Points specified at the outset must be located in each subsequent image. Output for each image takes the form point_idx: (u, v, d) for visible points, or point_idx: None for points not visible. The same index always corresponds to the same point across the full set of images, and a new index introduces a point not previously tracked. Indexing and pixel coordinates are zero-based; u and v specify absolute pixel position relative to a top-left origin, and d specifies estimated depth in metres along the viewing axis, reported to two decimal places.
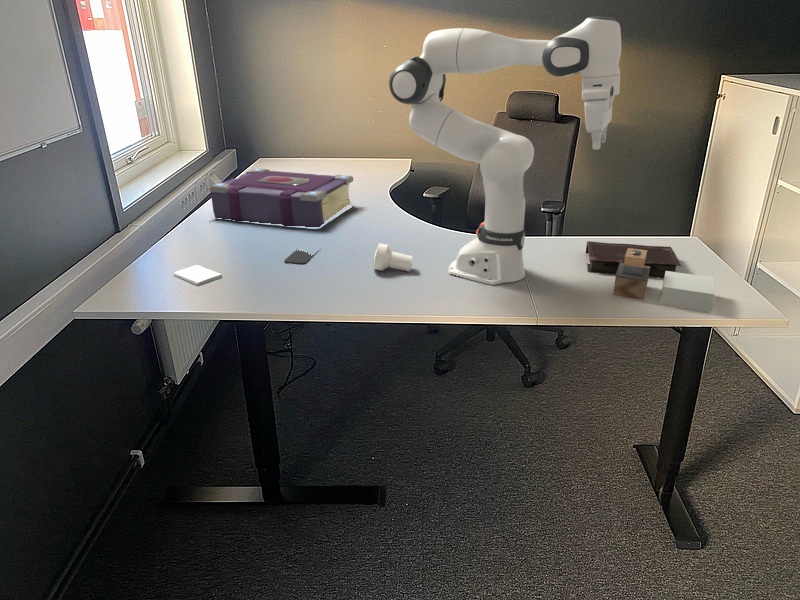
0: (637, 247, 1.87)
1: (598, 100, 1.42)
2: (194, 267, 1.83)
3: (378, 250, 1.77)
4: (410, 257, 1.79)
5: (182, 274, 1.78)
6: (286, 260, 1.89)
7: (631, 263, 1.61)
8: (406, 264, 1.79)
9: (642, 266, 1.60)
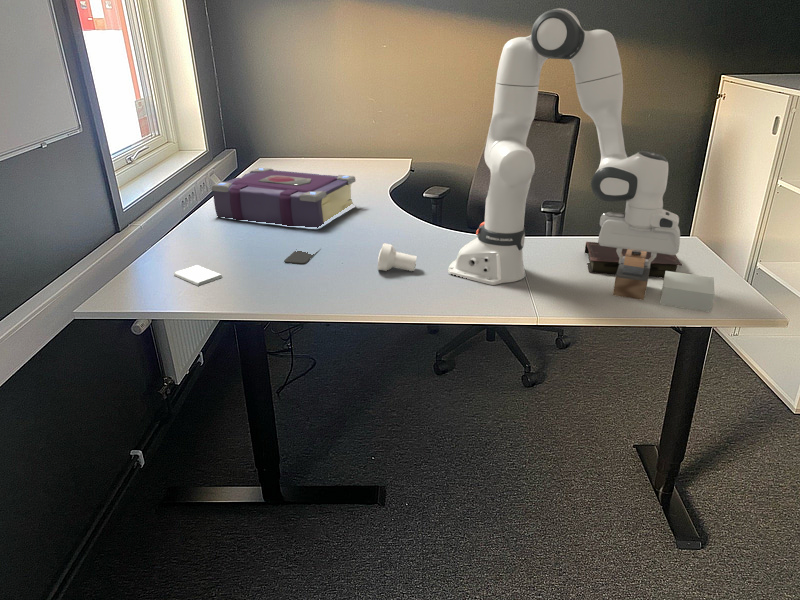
0: None
1: None
2: (194, 267, 1.82)
3: (382, 250, 1.77)
4: (414, 257, 1.79)
5: (182, 274, 1.77)
6: (286, 260, 1.89)
7: (631, 263, 1.61)
8: (410, 264, 1.78)
9: (642, 266, 1.60)
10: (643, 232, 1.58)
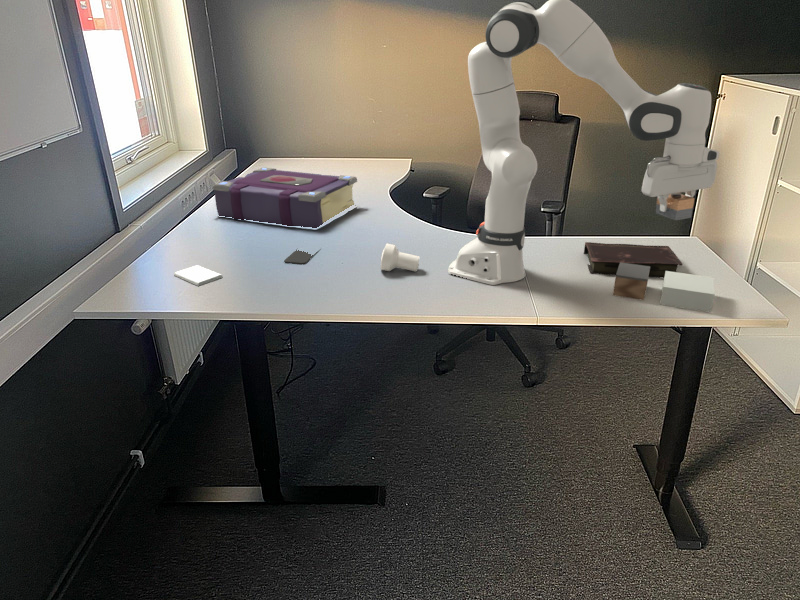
0: (636, 247, 1.87)
1: None
2: (194, 267, 1.82)
3: (385, 250, 1.77)
4: (417, 257, 1.79)
5: (182, 274, 1.77)
6: (286, 260, 1.89)
7: (683, 206, 1.50)
8: (413, 264, 1.78)
9: (692, 206, 1.51)
10: (688, 171, 1.49)
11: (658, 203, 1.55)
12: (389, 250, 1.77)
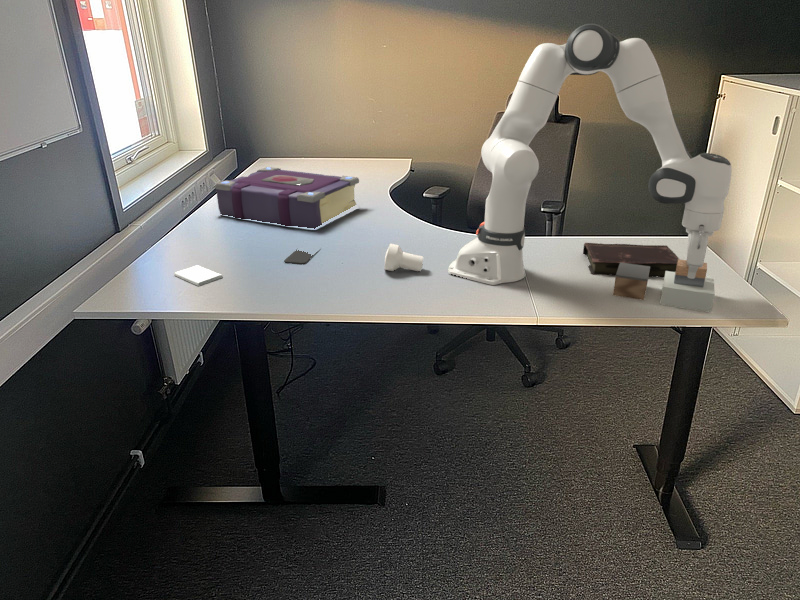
0: (635, 247, 1.87)
1: None
2: (195, 267, 1.82)
3: (389, 251, 1.77)
4: (421, 257, 1.79)
5: (182, 274, 1.77)
6: (286, 260, 1.89)
7: None
8: (417, 264, 1.78)
9: None
10: None
11: (678, 274, 1.58)
12: (393, 250, 1.77)
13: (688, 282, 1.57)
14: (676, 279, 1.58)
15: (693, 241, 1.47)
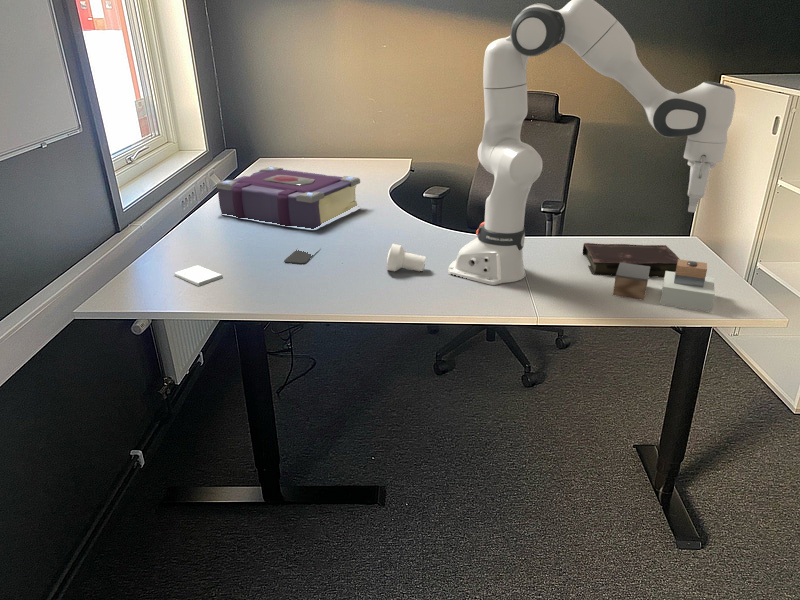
0: (634, 247, 1.87)
1: None
2: (195, 267, 1.82)
3: (391, 251, 1.77)
4: (423, 257, 1.79)
5: (183, 274, 1.77)
6: (286, 260, 1.89)
7: None
8: (419, 265, 1.78)
9: None
10: None
11: (678, 274, 1.58)
12: (395, 250, 1.77)
13: (688, 282, 1.57)
14: (676, 279, 1.58)
15: (694, 170, 1.43)
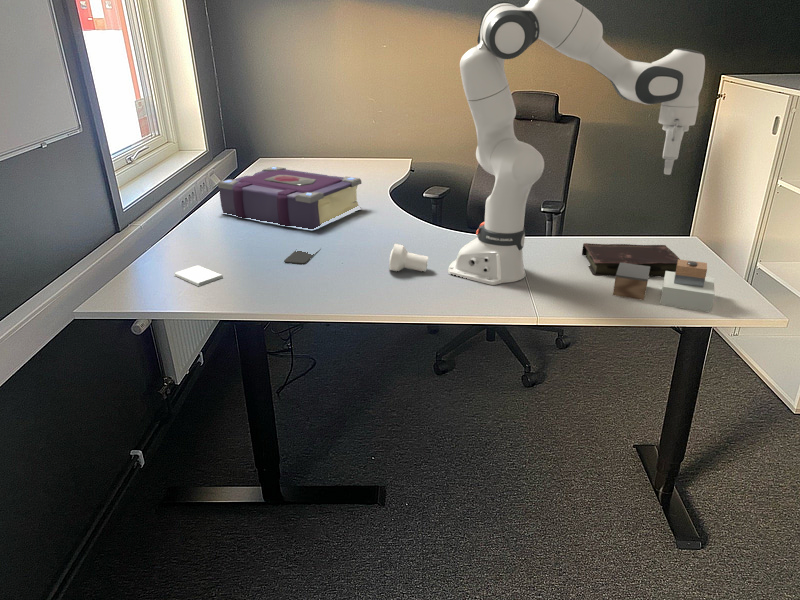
0: (634, 247, 1.87)
1: None
2: (195, 267, 1.82)
3: (394, 251, 1.77)
4: (426, 258, 1.79)
5: (183, 274, 1.77)
6: (286, 260, 1.89)
7: None
8: (422, 265, 1.78)
9: None
10: None
11: (678, 274, 1.58)
12: (398, 250, 1.77)
13: (688, 282, 1.57)
14: (676, 279, 1.58)
15: (668, 133, 1.51)
